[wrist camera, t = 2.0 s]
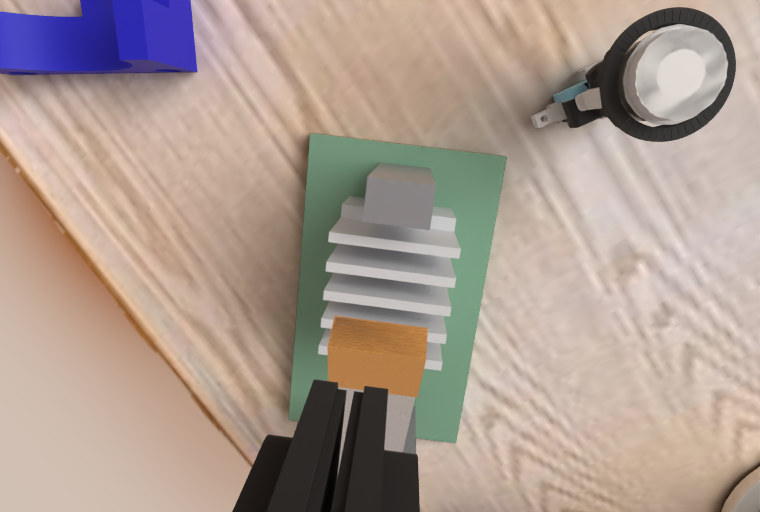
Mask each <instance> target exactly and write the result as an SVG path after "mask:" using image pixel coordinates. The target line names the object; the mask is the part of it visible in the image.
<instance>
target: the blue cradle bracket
mask: <svg viewBox="0 0 760 512" xmlns="http://www.w3.org/2000/svg"><path fill="white" fill-rule="evenodd" d="M80 1H81V8H82V15H83V17H54V16H38V15H26V14H16V13H8V12H0V73H2V74H10V75H46V74H105V73H165V72H197V64H196V53H195V43H194V33H193V22H192V12H191V1H190V0H80Z"/></svg>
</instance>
